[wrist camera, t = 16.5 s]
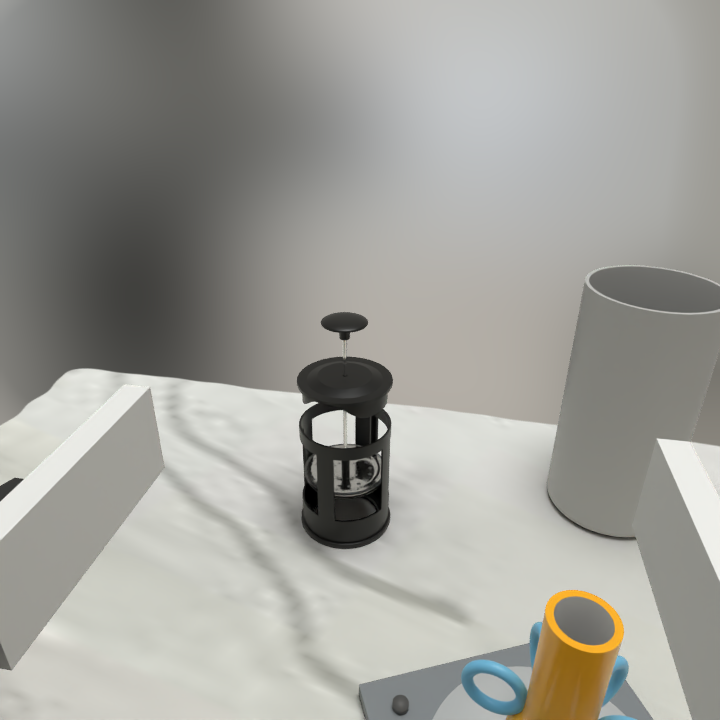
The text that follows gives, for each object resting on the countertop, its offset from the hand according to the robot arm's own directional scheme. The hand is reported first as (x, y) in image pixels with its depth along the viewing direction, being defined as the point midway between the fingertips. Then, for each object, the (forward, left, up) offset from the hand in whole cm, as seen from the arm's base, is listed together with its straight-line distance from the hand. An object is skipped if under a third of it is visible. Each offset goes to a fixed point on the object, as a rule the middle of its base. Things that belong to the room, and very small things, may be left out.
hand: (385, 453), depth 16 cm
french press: (+8, +36, -35) cm, 51 cm away
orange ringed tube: (+13, +6, -33) cm, 36 cm away
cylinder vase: (+36, +31, -35) cm, 59 cm away
